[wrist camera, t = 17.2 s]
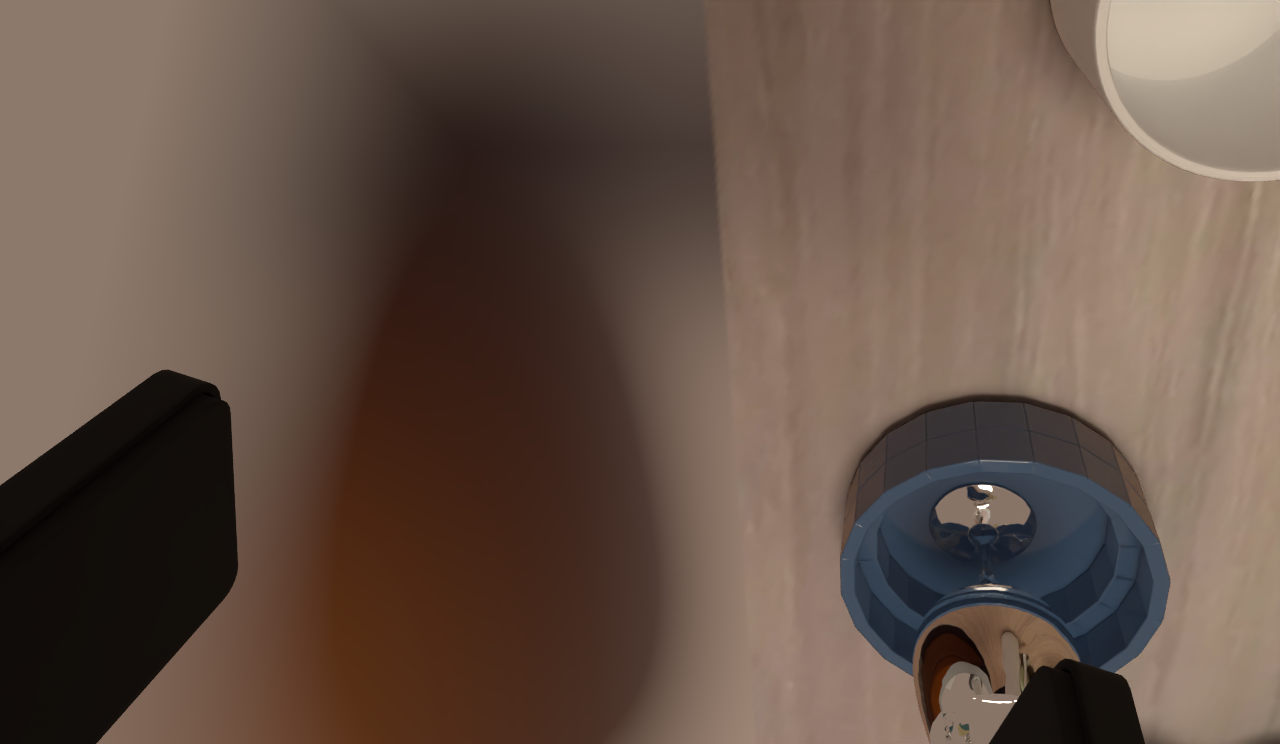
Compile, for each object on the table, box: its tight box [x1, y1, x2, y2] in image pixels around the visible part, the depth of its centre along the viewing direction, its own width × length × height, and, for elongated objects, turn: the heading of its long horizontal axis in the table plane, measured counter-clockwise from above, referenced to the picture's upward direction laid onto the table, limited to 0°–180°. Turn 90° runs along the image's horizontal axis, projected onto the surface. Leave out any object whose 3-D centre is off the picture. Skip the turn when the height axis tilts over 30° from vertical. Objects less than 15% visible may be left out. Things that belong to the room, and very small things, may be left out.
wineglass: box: [913, 482, 1082, 744], centre depth 36 cm, size 6×6×12 cm
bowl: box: [840, 401, 1170, 676], centre depth 39 cm, size 12×12×5 cm
